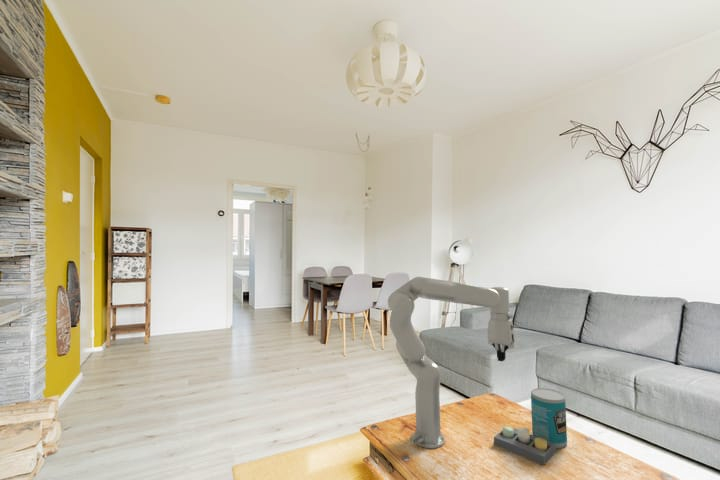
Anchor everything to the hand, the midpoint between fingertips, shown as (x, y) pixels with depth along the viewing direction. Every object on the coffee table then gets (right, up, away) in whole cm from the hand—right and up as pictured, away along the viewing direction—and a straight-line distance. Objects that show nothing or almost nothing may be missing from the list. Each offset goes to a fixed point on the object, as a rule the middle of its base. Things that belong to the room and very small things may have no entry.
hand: (501, 360), depth 144 cm
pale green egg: (-1, -28, -10) cm, 29 cm away
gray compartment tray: (+3, -29, -14) cm, 32 cm away
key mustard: (+7, -27, -18) cm, 33 cm away
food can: (+15, -29, -9) cm, 34 cm away
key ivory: (+3, -26, -14) cm, 29 cm away
